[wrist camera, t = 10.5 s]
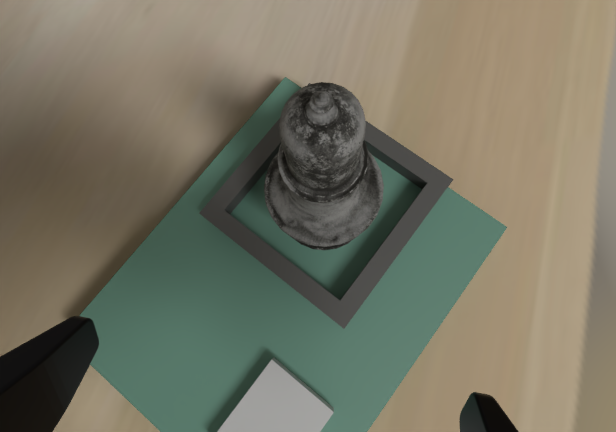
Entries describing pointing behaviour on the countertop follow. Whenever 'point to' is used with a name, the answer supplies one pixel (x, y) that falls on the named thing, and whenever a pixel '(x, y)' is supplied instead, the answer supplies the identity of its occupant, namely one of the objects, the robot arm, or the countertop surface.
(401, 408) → the countertop surface
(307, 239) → the weathered stone pawn
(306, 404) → the socket board
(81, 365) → the robot arm
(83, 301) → the countertop surface
